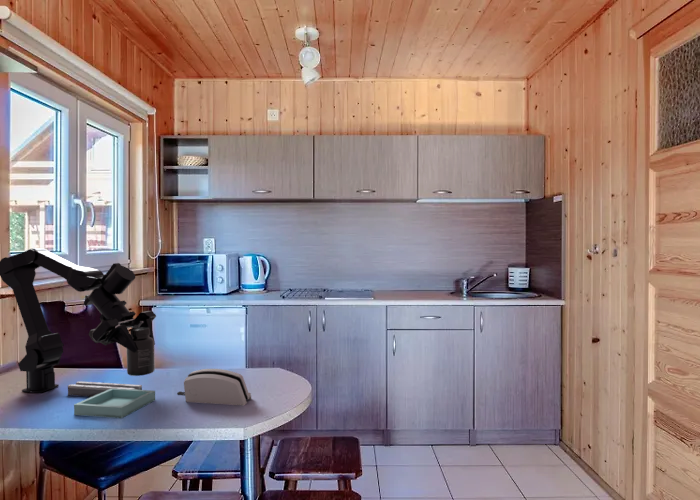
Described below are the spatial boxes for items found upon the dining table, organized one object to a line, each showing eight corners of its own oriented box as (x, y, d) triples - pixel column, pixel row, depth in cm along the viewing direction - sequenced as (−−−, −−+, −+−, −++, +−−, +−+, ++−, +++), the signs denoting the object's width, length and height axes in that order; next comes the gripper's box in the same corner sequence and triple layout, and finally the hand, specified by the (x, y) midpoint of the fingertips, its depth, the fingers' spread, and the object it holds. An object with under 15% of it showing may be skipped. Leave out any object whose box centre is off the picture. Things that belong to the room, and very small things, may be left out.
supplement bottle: (157, 368, 128) (157, 325, 128) (150, 376, 121) (149, 330, 121) (131, 369, 127) (131, 326, 127) (122, 377, 121) (122, 331, 120)
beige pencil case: (252, 398, 122) (246, 366, 118) (246, 410, 118) (239, 378, 114) (195, 394, 125) (187, 364, 122) (186, 406, 121) (177, 375, 117)
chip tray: (74, 414, 112) (74, 404, 112) (112, 397, 125) (112, 388, 125) (121, 418, 109) (121, 407, 109) (155, 400, 122) (155, 390, 122)
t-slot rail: (67, 395, 127) (67, 385, 127) (79, 390, 131) (79, 381, 131) (132, 399, 123) (132, 389, 123) (141, 394, 127) (141, 385, 127)
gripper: (116, 320, 137) (149, 359, 134) (64, 332, 119) (100, 377, 116) (139, 294, 135) (173, 334, 132) (89, 302, 117) (127, 348, 114)
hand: (145, 348), depth 124 cm, fingers closed on supplement bottle, 7 cm apart
